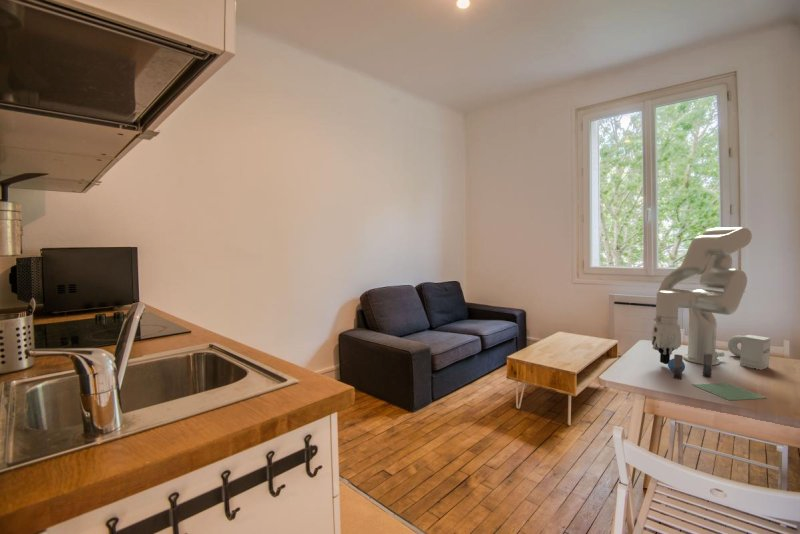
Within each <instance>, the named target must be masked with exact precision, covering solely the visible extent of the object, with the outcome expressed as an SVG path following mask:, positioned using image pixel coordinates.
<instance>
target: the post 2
mask: <svg viewBox="0 0 800 534" xmlns="http://www.w3.org/2000/svg"><path fill="white" fill-rule="evenodd" d="M712 367H713V365H712V354H709V353H704V358H703V364H702V377H703V378H707V379H711V378H712V369H713V368H712Z"/></svg>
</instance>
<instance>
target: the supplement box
mask: <svg viewBox="0 0 800 534" xmlns="http://www.w3.org/2000/svg"><path fill="white" fill-rule="evenodd" d="M741 336H742V337H741V343H740V350H741V354H740V357H739V366H741V365H742V366H743V367H745V366H746V368H749V369H754V368H756V369H755V370H758V369H760V370H759V371H762V370H764V369H768V368H769V367H770V357H771V339H772V338H771V337H767V336H759V335H754V334H747V335H741ZM742 366H741V367H742ZM767 367H768V368H767Z"/></svg>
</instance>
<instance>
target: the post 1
mask: <svg viewBox="0 0 800 534" xmlns="http://www.w3.org/2000/svg"><path fill="white" fill-rule="evenodd" d="M683 356H684V355H682V354H674V356H673V359H674V372H673V379H675V380H680V381H681V380H682V379H683V371H682V362H684V361H683V360H684V358H683Z"/></svg>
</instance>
